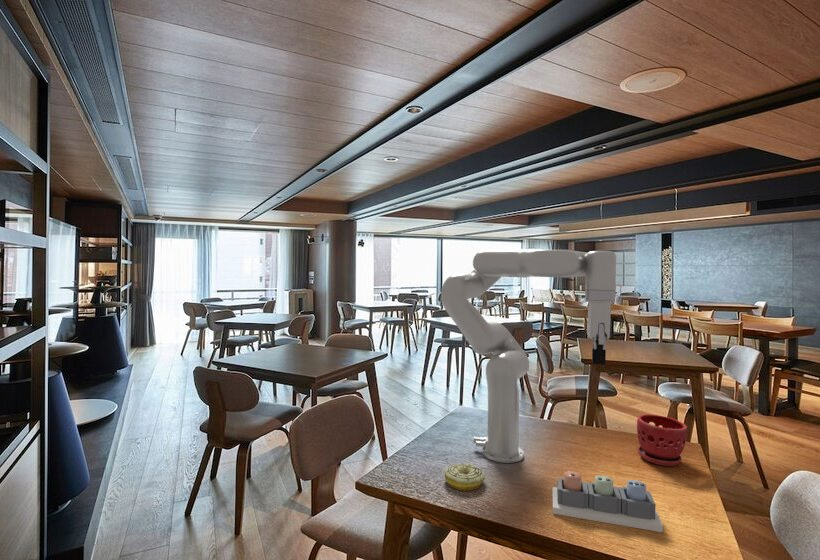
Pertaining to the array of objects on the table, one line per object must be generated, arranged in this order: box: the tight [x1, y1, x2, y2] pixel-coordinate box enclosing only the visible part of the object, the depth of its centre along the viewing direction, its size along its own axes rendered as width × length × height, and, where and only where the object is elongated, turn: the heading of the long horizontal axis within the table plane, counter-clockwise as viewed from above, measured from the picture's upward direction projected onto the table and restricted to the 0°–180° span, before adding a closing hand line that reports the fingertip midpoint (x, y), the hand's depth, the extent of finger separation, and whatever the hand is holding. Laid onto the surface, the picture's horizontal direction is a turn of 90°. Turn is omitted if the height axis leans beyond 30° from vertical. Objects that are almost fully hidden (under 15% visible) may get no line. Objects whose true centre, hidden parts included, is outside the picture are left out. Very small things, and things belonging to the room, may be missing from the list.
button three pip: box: [626, 479, 647, 502], centre depth 101 cm, size 4×4×5 cm
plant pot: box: [636, 414, 688, 466], centre depth 131 cm, size 13×13×12 cm
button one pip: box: [563, 470, 582, 492], centre depth 105 cm, size 4×4×5 cm
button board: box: [552, 477, 664, 533], centre depth 103 cm, size 23×10×5 cm, turn 72°
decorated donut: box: [444, 462, 486, 492], centre depth 116 cm, size 10×11×4 cm
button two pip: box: [594, 475, 614, 497], centre depth 103 cm, size 4×4×5 cm
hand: (598, 363), depth 117 cm, fingers closed
